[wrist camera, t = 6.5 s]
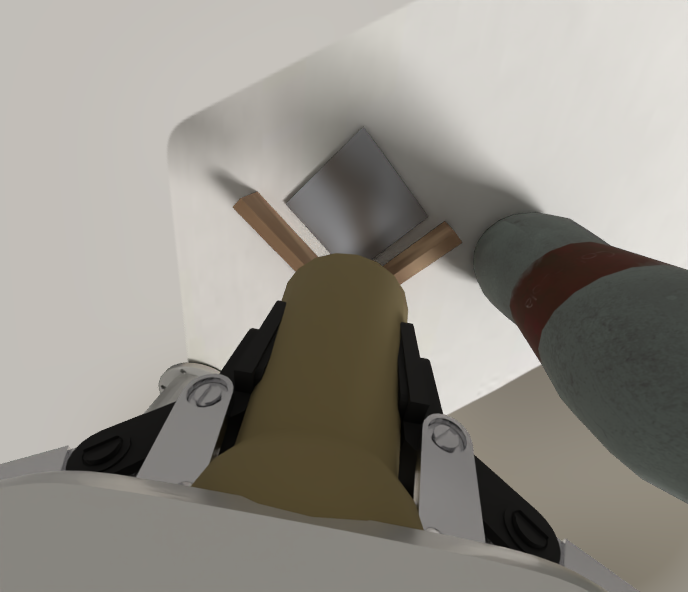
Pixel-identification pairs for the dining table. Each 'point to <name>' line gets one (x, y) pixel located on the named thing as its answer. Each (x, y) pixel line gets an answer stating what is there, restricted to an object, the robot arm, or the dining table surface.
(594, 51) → the dining table surface
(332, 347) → the cork
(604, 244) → the bottle
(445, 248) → the corner arena
